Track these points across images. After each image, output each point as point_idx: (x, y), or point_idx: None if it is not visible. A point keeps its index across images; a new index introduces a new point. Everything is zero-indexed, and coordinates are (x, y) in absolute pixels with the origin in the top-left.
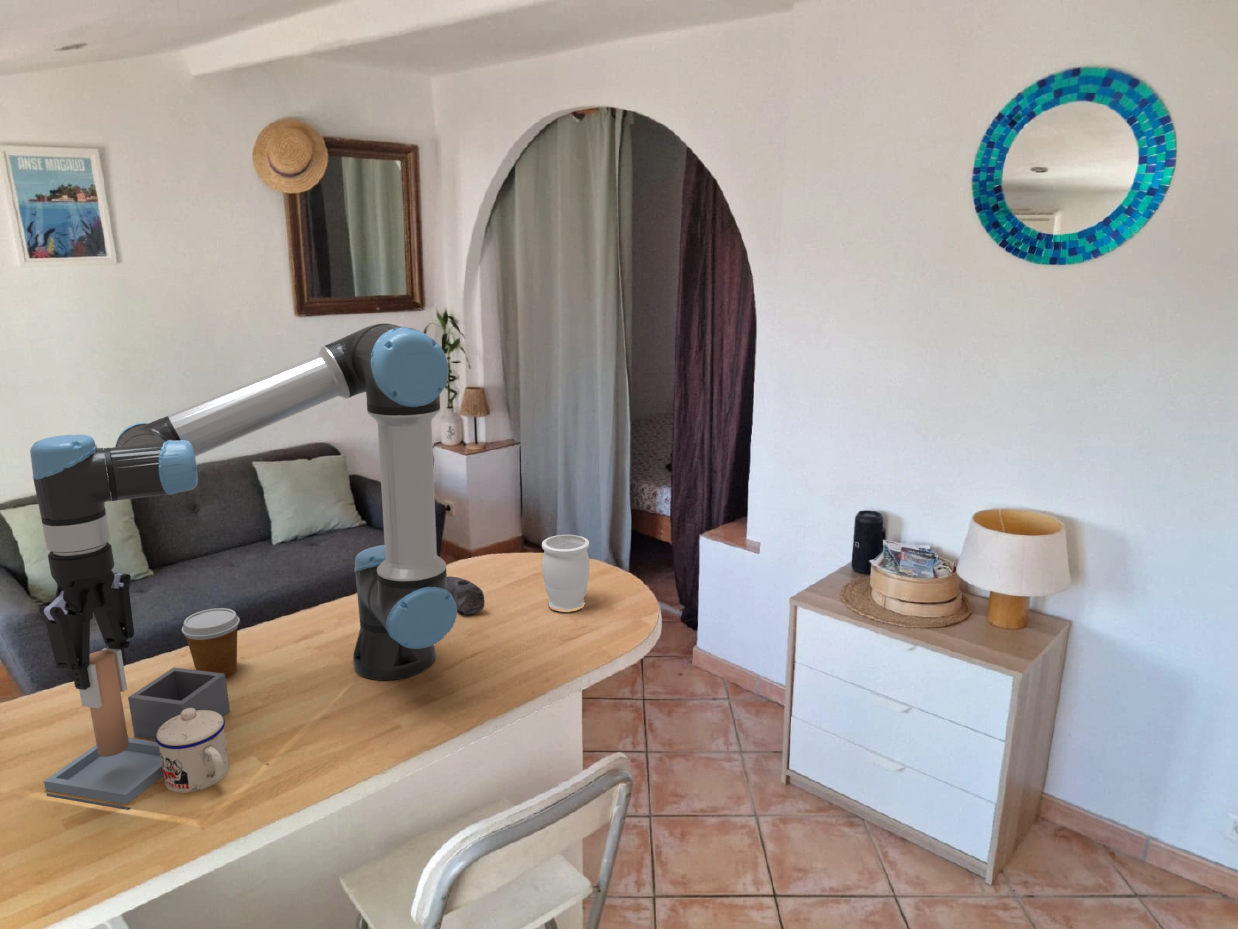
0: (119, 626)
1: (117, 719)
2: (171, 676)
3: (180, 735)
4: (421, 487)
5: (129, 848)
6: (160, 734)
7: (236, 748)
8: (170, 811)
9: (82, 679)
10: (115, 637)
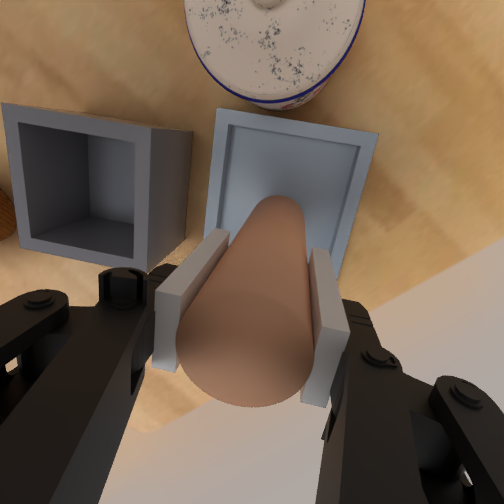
0: (38, 381)
1: (283, 213)
2: (47, 237)
3: None
4: None
5: (488, 57)
6: (323, 63)
7: (174, 30)
8: (379, 44)
9: (371, 329)
10: (126, 348)
